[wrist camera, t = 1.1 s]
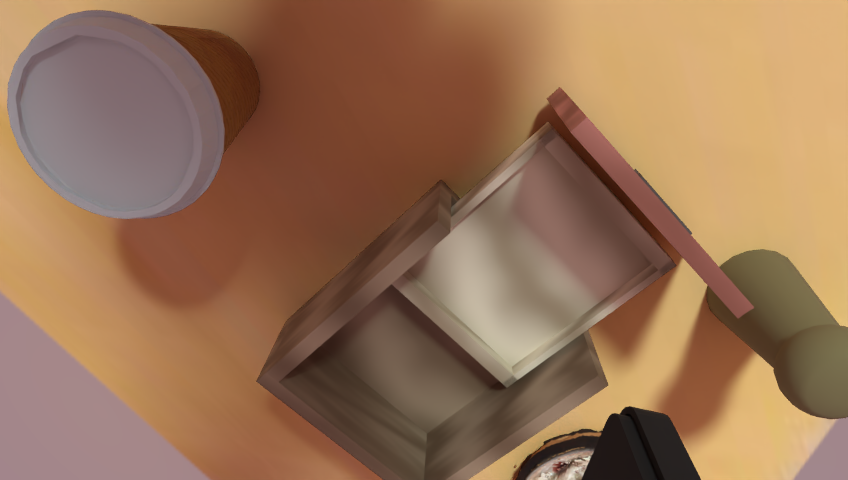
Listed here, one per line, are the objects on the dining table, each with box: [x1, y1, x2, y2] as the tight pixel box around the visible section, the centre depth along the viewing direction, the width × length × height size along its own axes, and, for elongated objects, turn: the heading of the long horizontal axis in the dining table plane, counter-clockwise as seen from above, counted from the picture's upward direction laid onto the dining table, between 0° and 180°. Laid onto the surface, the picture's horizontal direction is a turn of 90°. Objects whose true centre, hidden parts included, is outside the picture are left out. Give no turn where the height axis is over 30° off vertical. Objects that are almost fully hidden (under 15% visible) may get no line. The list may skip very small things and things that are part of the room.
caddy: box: [256, 180, 608, 480], centre depth 40 cm, size 16×15×7 cm
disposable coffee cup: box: [7, 10, 260, 219], centre depth 31 cm, size 10×10×12 cm
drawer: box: [392, 87, 754, 387], centre depth 35 cm, size 16×14×8 cm
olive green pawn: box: [707, 249, 848, 419], centre depth 36 cm, size 6×6×11 cm
